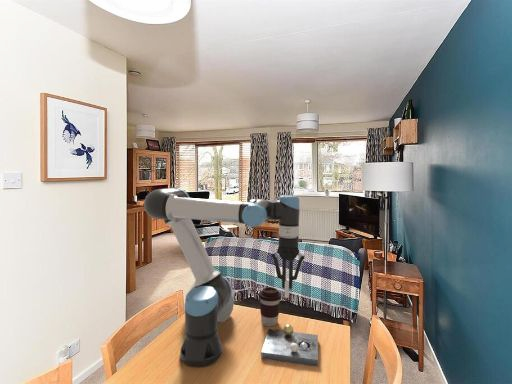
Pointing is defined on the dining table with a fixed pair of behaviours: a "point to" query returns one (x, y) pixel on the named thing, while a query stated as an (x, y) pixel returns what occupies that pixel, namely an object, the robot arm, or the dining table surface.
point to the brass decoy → (288, 330)
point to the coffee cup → (269, 306)
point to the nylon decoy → (294, 347)
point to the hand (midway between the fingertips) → (286, 296)
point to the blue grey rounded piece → (226, 310)
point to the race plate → (280, 350)
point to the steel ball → (303, 345)
